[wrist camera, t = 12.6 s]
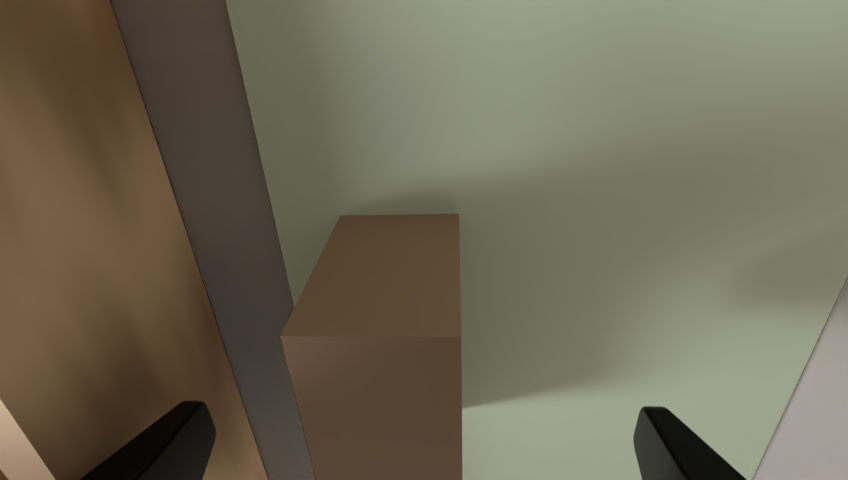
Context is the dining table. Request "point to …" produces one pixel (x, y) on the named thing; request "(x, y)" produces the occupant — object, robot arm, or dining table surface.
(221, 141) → the dining table surface
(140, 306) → the tan wooden box
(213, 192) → the dining table surface
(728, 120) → the lid
